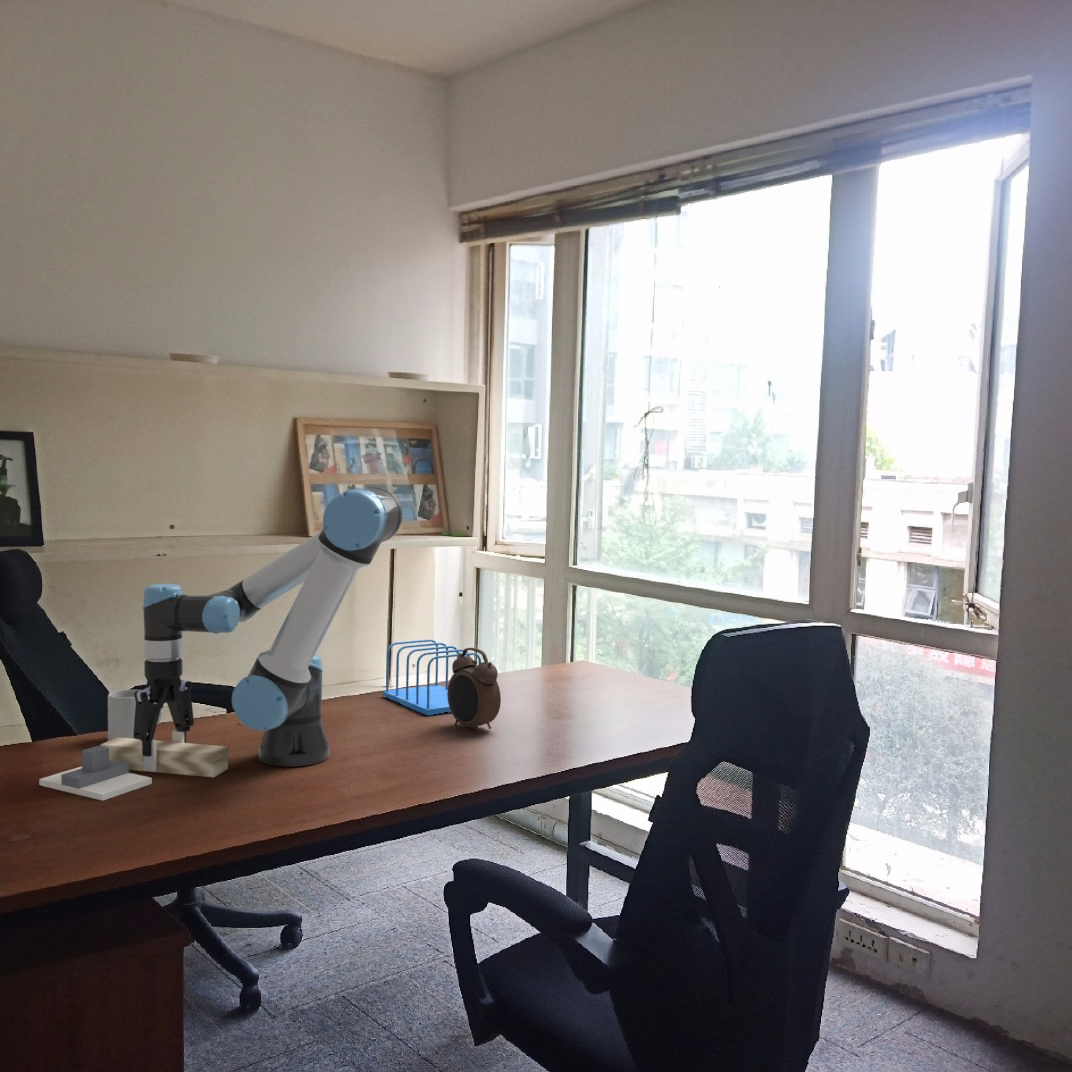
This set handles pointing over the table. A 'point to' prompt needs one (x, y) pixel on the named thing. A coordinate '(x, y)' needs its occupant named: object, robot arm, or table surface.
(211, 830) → the table surface
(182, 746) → the oak bar
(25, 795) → the table surface
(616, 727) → the table surface
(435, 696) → the file sorter
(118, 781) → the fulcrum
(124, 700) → the mug
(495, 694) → the alarm clock
